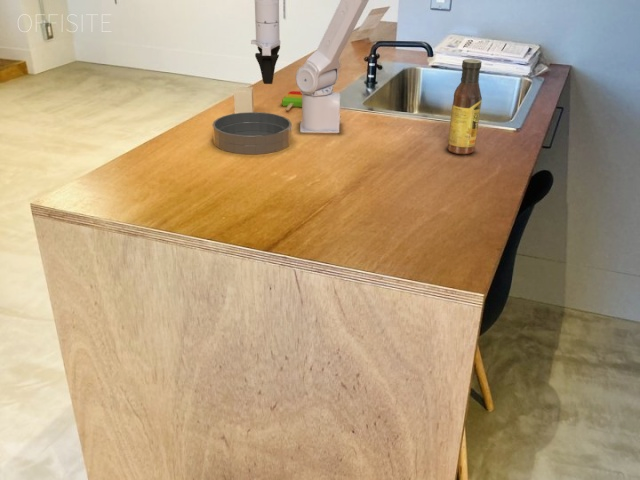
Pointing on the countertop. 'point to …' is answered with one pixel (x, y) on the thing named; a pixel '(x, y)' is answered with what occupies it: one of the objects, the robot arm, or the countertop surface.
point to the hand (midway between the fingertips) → (268, 79)
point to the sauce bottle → (465, 110)
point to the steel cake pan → (252, 133)
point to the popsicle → (292, 100)
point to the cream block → (243, 99)
